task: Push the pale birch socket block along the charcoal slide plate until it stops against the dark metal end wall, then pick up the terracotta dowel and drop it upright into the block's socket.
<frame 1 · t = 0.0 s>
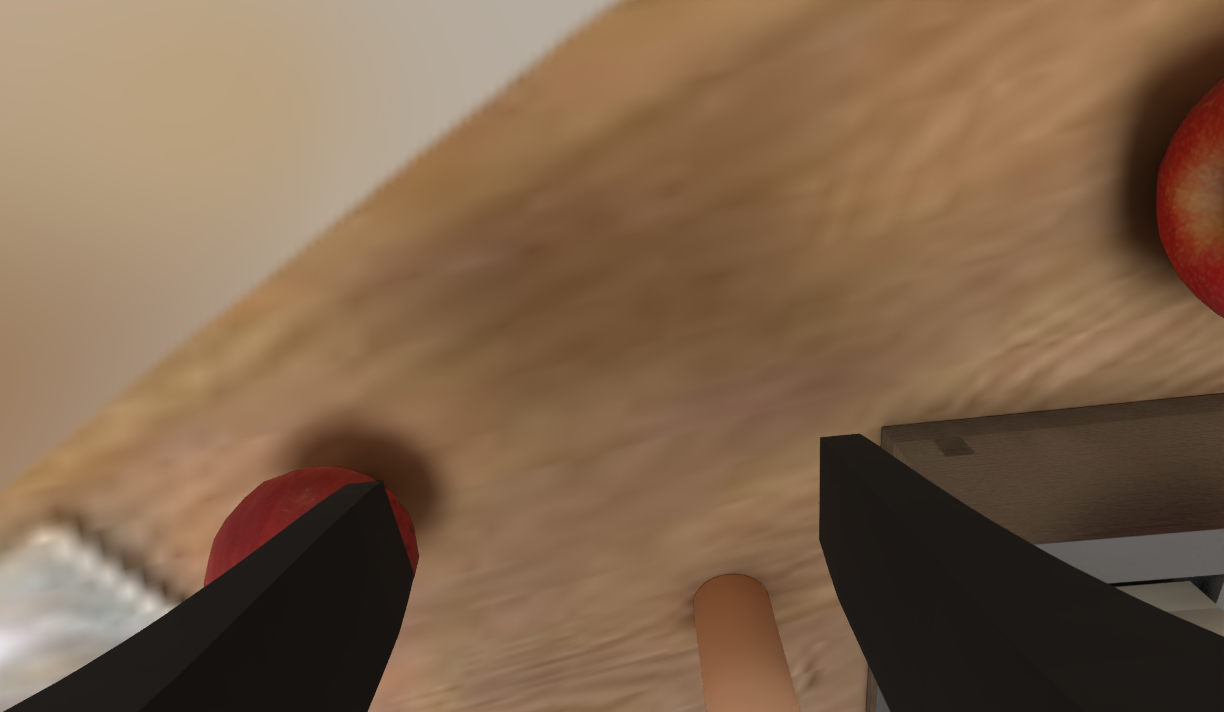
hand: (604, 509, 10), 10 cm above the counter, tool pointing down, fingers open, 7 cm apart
dowel: (731, 603, 24), on the counter
onion: (366, 486, 23), on the counter
slide base: (1044, 588, 24), on the counter
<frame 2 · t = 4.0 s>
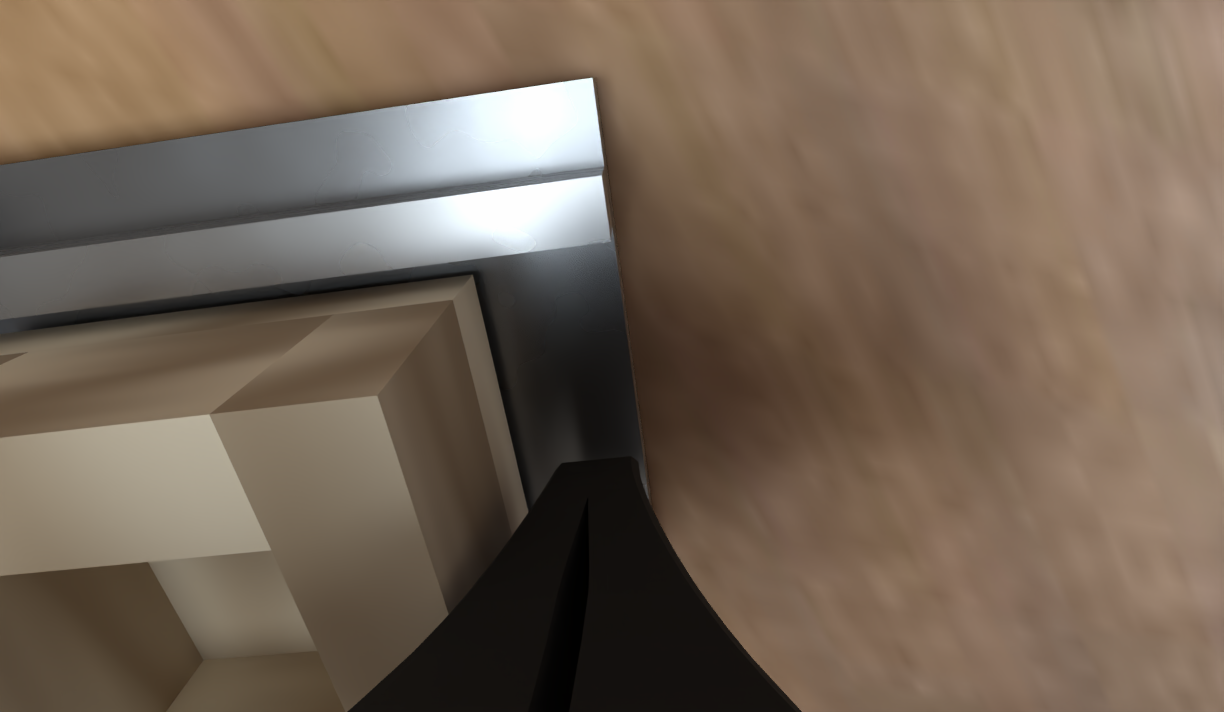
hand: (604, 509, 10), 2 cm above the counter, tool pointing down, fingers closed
sliding block: (251, 588, 10), point 3 cm above the counter, slide at 4.0 cm, touching gripper
slide base: (258, 475, 13), on the counter
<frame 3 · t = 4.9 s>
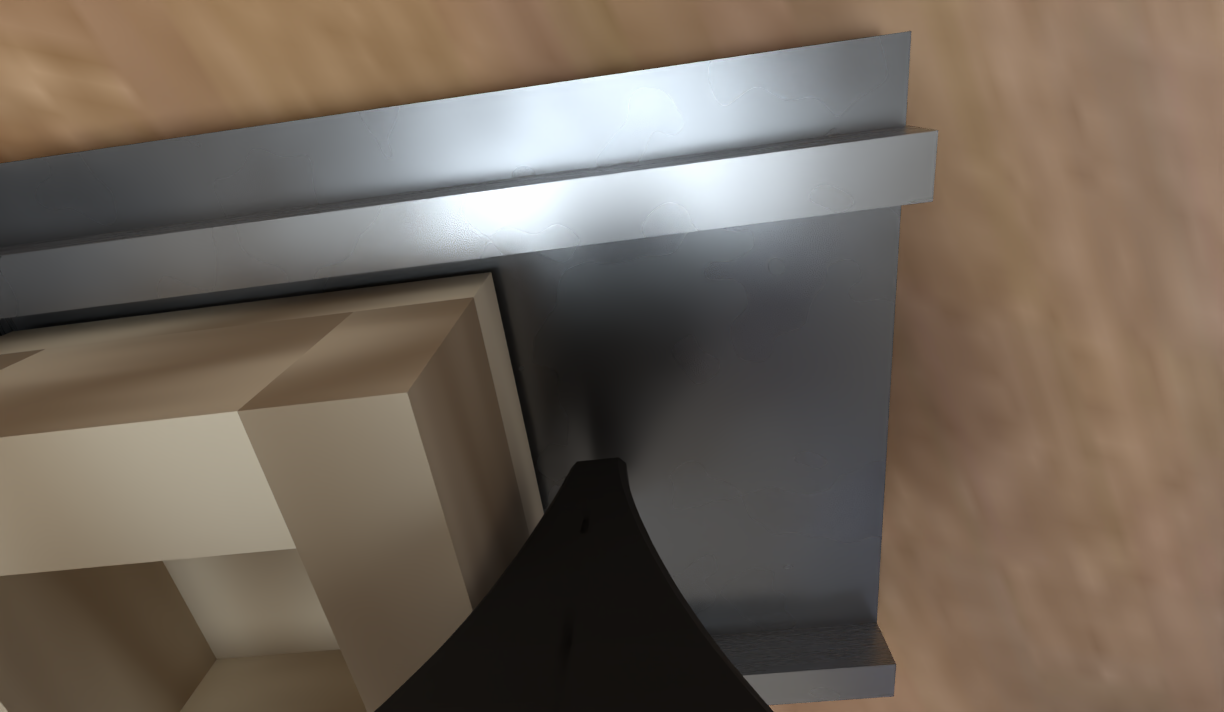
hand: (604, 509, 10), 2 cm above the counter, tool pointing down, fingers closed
sliding block: (267, 587, 10), point 3 cm above the counter, slide at -0.1 cm, touching gripper
slide base: (461, 454, 12), on the counter
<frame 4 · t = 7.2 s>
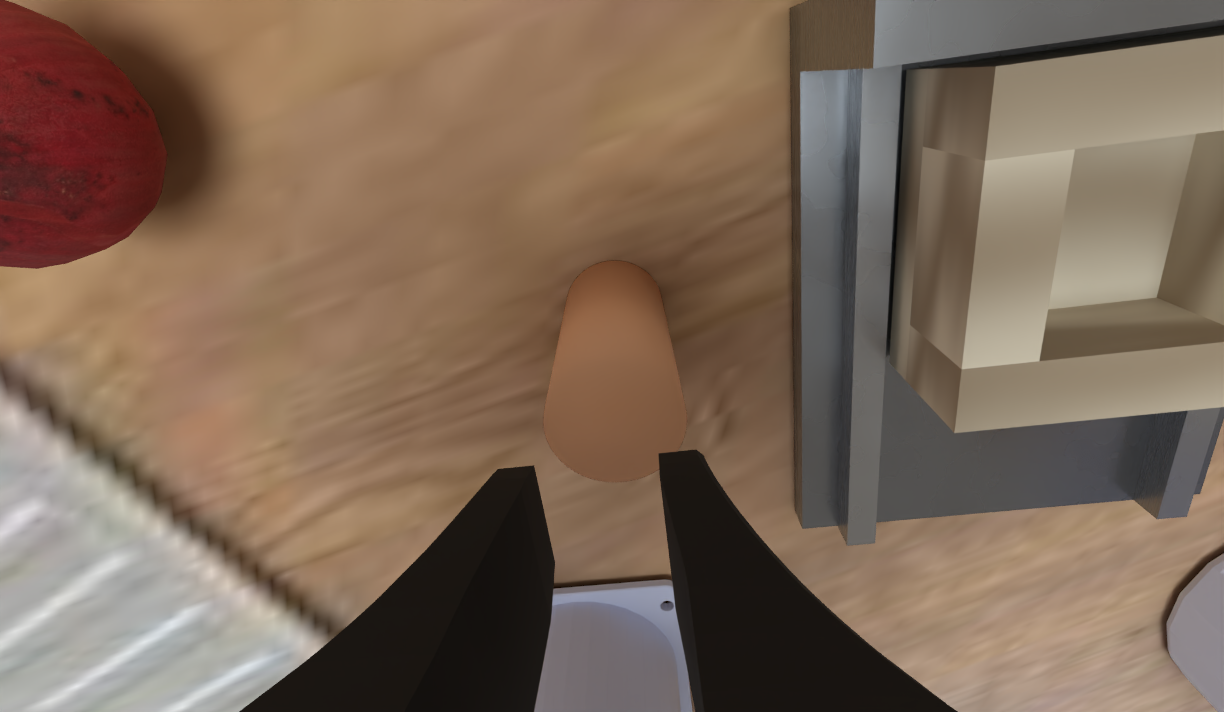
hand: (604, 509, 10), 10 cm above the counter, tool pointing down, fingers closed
dowel: (614, 307, 19), on the counter
onion: (129, 126, 17), on the counter
sliding block: (1103, 228, 15), point 3 cm above the counter, slide at 0.0 cm
slide base: (1011, 277, 19), on the counter
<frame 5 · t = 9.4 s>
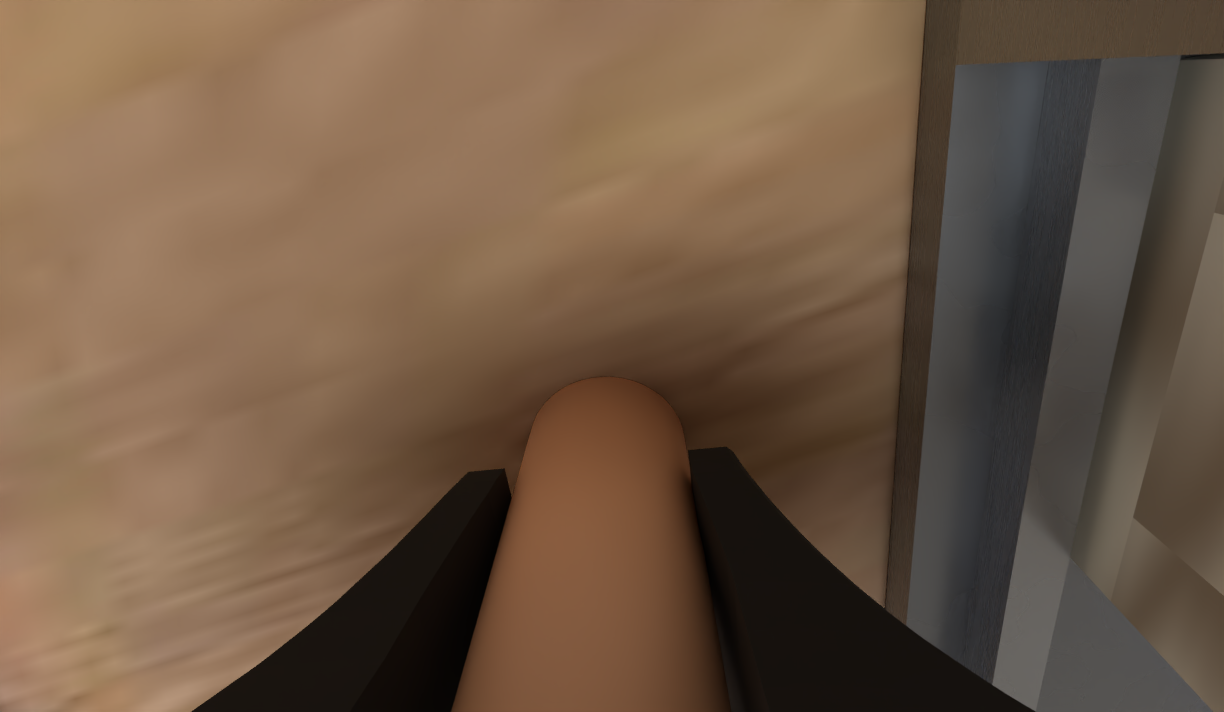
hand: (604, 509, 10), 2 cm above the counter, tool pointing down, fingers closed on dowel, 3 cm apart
dowel: (607, 447, 12), on the counter, touching gripper
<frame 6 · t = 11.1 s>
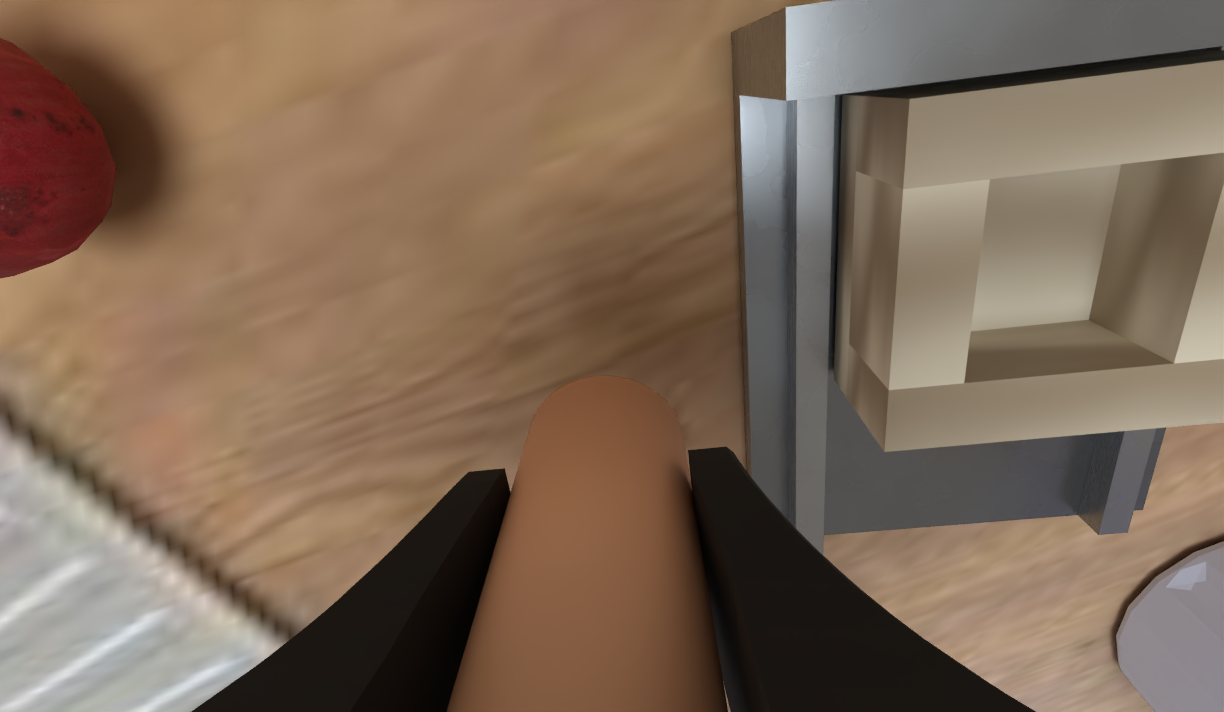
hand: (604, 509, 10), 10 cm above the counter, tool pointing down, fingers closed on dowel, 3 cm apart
dowel: (605, 446, 12), point 8 cm above the counter, touching gripper
onion: (83, 139, 18), on the counter
sliding block: (1030, 252, 15), point 3 cm above the counter, slide at 0.0 cm
slide base: (954, 296, 19), on the counter
when the fingers open (6 cm above the counter, at t = 12.6 s): dowel drops 2 cm, resting on sliding block.
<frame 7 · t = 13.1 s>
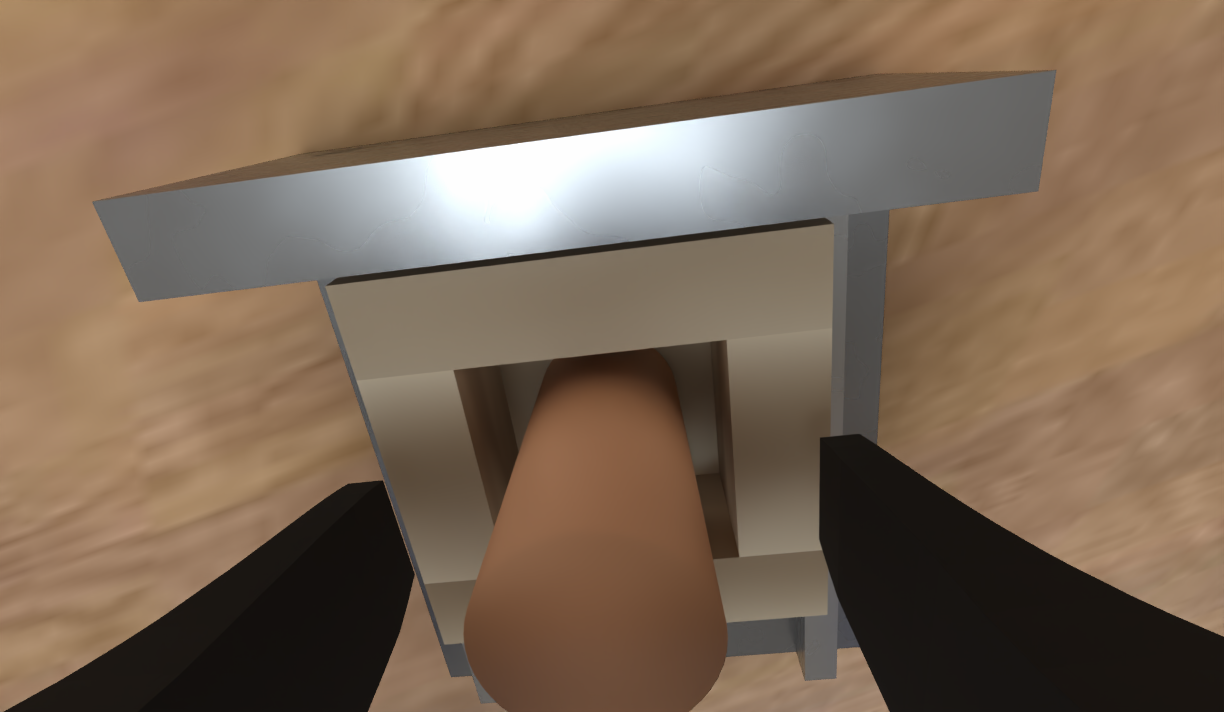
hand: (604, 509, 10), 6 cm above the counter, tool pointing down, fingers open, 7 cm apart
dowel: (609, 397, 14), point 3 cm above the counter, touching sliding block
sliding block: (608, 415, 13), point 3 cm above the counter, slide at 0.0 cm, touching dowel
slide base: (622, 425, 17), on the counter
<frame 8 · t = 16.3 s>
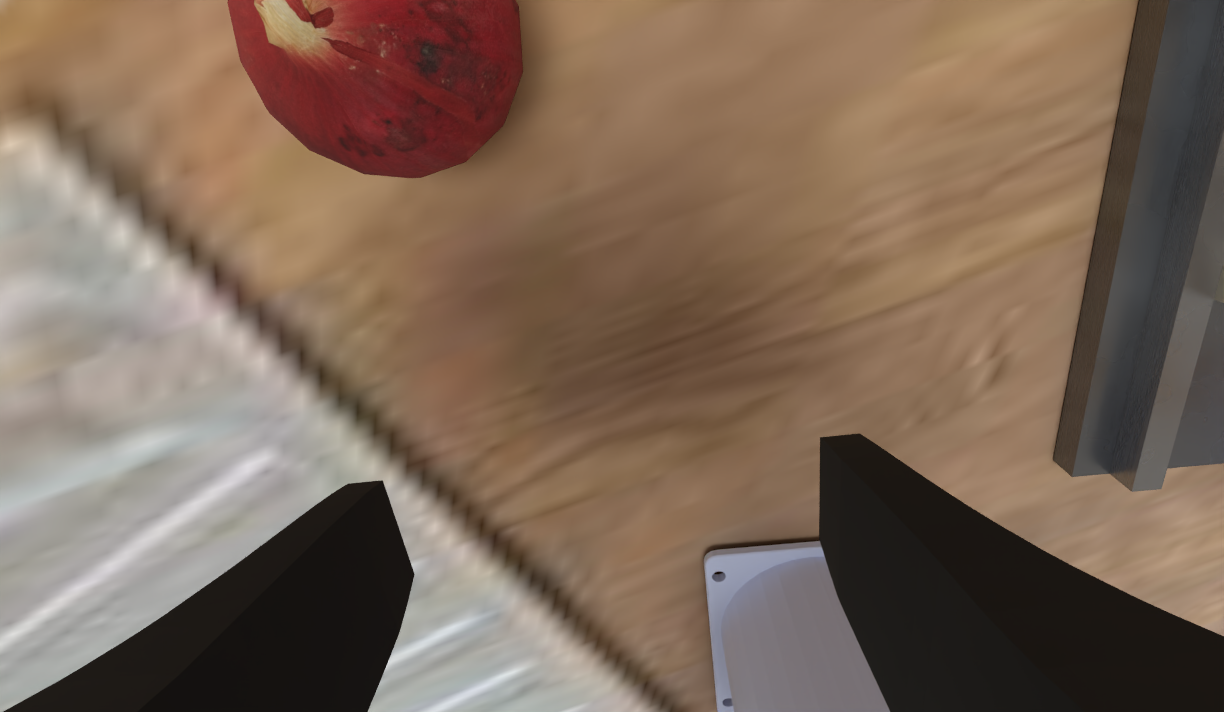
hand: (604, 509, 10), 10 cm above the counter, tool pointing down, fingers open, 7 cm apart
onion: (438, 49, 17), on the counter
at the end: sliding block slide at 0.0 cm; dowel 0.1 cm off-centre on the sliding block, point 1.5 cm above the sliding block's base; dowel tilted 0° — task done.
